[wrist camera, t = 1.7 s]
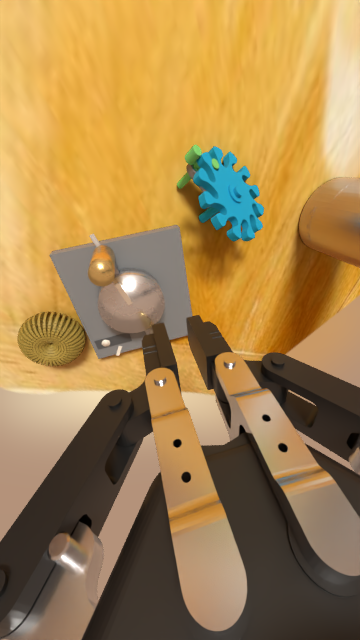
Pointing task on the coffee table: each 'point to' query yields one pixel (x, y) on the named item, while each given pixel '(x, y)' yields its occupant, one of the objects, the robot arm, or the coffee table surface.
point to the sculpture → (51, 339)
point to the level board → (130, 252)
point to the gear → (224, 192)
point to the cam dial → (125, 294)
